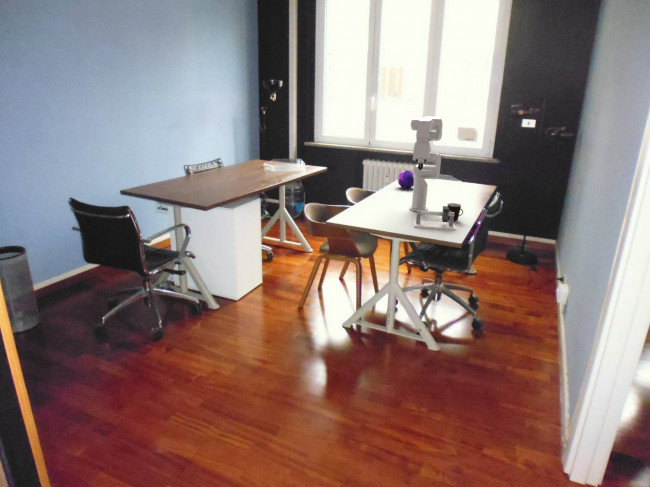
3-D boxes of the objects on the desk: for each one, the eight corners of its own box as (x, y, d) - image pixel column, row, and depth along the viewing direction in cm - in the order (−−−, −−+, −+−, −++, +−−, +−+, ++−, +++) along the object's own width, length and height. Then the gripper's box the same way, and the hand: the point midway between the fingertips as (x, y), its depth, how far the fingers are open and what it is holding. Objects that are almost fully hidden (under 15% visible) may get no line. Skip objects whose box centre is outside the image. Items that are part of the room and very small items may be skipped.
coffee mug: (444, 217, 315) (445, 203, 312) (456, 217, 316) (458, 203, 313) (449, 222, 304) (451, 207, 301) (462, 222, 305) (464, 207, 302)
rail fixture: (413, 221, 305) (414, 207, 302) (453, 224, 301) (455, 209, 298) (413, 227, 293) (415, 212, 290) (455, 230, 289) (457, 215, 286)
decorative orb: (398, 185, 409) (400, 168, 404) (416, 187, 404) (417, 169, 399) (395, 189, 395) (396, 171, 390) (413, 190, 391) (415, 172, 386)
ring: (441, 218, 299) (443, 206, 296) (446, 218, 298) (448, 206, 296) (442, 222, 291) (443, 209, 289) (447, 222, 291) (449, 209, 288)
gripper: (434, 140, 298) (431, 169, 304) (410, 139, 300) (408, 168, 306) (435, 141, 291) (432, 171, 297) (410, 140, 293) (408, 170, 299)
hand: (420, 169), depth 301 cm, fingers closed
